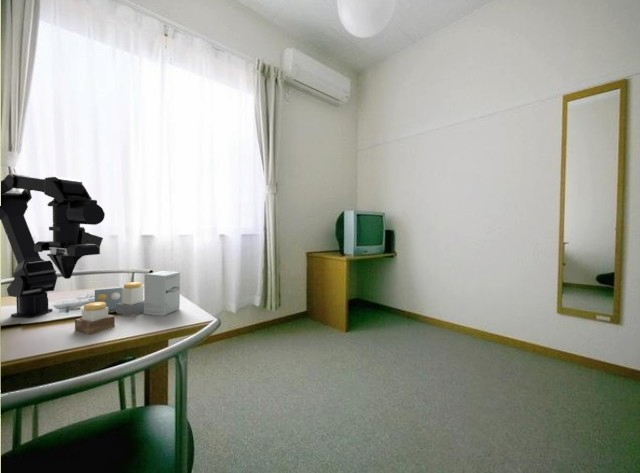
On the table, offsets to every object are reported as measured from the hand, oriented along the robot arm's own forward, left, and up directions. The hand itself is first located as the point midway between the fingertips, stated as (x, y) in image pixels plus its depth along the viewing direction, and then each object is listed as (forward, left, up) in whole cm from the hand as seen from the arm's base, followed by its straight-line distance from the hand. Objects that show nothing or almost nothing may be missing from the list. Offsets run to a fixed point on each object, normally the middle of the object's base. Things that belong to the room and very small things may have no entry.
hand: (67, 278), depth 80 cm
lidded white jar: (+12, -5, -11) cm, 17 cm away
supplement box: (+21, +11, -12) cm, 27 cm away
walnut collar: (+12, -5, -12) cm, 18 cm away
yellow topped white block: (+12, +9, -9) cm, 18 cm away
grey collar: (+12, +9, -12) cm, 20 cm away
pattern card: (+4, +10, -12) cm, 16 cm away
